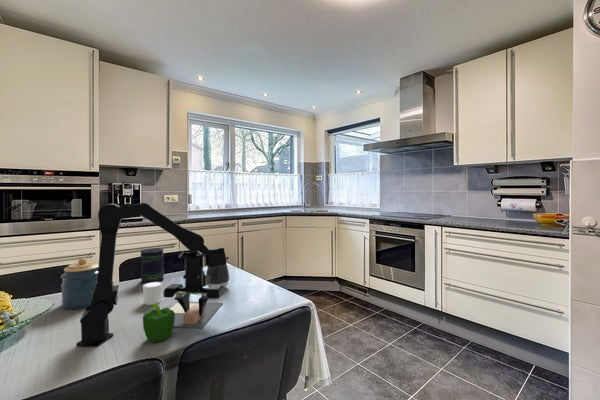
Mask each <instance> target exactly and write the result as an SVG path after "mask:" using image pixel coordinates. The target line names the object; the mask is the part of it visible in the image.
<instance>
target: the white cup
mask: <svg viewBox="0 0 600 400" xmlns="http://www.w3.org/2000/svg"><path fill="white" fill-rule="evenodd" d="M162 287H163V282H151V283H147V284H142V292H143V300H144V301H143V302H144V304H145V305H148V306H151V304H157V305H158V304H159V303H160V302H162V289H163V288H162Z"/></svg>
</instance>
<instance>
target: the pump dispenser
mask: <svg viewBox="0 0 600 400" xmlns="http://www.w3.org/2000/svg"><path fill="white" fill-rule="evenodd" d="M229 259H230V256H226V261H228V260H229ZM229 271H230V270H229V267H228V265H227V263H226V266H224V267H217V268H208V267H207V269H206V272H205V275H208V276H210V279H209V285H206V287H207V288H209V287H211V286H212V285H222V286H223V287H224V289H225V288H226V287H227V286H228V284H229V281H230V272H229Z"/></svg>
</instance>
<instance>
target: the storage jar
mask: <svg viewBox="0 0 600 400" xmlns="http://www.w3.org/2000/svg"><path fill="white" fill-rule="evenodd" d="M164 258H165V257H164V249H163V248H160V247H158V248H155V247H154V248H153V247H152V248H144V249H141V251H140V264H141V270H140V280H141V281H140V283H141V284H142V285H144V284H147V283H151V282H161V281H162V282H163V281H164V280H165V279H164V275H165V272H164V270H165V269H164ZM162 282H161V283H162Z"/></svg>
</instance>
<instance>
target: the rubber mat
mask: <svg viewBox="0 0 600 400" xmlns="http://www.w3.org/2000/svg"><path fill="white" fill-rule="evenodd" d="M189 304H190V308H191V307H192V306H193V305H199V301H189ZM223 304H224V303H223V302H215V301H213V302H211V301H210V302H209V301H207V303H206V305H205V314H204V315H203V316H202V317H201V319H200V320H199V321H198V322H197V323H196V324H183V314H184V313H185V312H184V310H183V308H182V306H181V305H180V304H179V302H178V301H176V302H175V303H174V304H173V305H171V306H170V307H168V308H169V309H170V310H173V311H174V313H175V321H174V326H173V329H174V328H175V329H203V328H204V327H205V325H206V324H207V323H208V322H209V321H210V320H211V318H213V316H214V315H215V314H216V312H218V310H219V309H220V308H221V306H222V305H223Z"/></svg>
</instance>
